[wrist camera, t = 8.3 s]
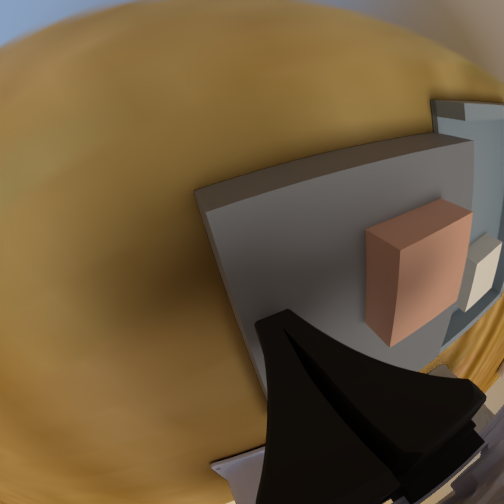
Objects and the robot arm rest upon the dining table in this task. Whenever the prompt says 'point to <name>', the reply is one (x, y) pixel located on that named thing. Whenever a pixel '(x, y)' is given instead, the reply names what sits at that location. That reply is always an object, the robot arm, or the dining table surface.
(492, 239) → the cream tile
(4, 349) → the dining table surface
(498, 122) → the tray
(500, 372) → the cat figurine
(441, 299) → the terracotta tile
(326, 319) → the plate
